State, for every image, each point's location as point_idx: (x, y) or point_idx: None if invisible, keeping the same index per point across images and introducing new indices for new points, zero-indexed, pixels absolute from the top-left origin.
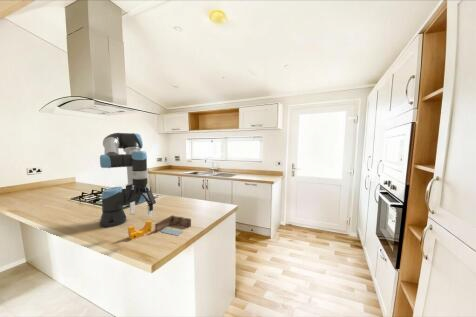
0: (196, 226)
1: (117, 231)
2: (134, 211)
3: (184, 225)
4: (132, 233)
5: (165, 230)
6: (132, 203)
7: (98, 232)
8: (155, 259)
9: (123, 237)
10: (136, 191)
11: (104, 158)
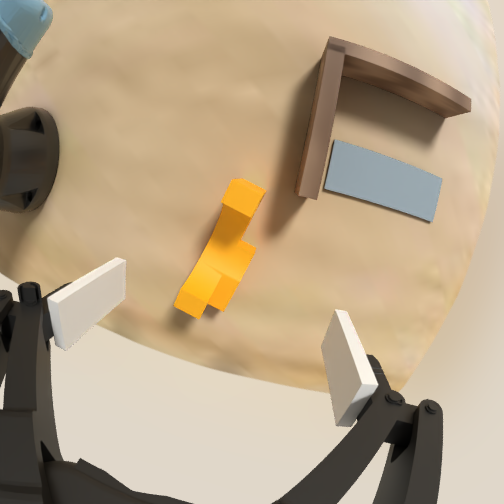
0: None
1: (96, 231)
2: (120, 270)
3: (419, 102)
4: (215, 298)
5: (350, 173)
6: (70, 326)
7: (49, 255)
8: (398, 382)
9: (167, 281)
10: None
11: None
